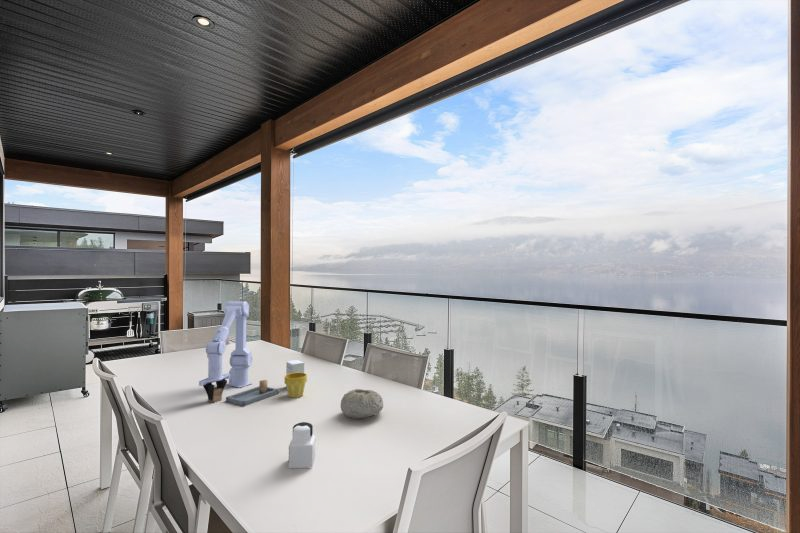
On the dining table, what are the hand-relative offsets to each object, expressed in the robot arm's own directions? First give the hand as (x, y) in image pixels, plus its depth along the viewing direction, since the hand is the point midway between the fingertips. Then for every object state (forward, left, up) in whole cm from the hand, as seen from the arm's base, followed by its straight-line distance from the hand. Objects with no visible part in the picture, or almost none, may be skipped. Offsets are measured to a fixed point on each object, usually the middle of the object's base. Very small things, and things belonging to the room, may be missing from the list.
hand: (214, 397), depth 175 cm
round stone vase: (+67, +20, -2) cm, 70 cm away
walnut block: (0, 0, -1) cm, 1 cm away
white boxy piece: (+73, -22, -2) cm, 76 cm away
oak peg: (+11, +18, -1) cm, 21 cm away
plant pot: (+26, +24, -2) cm, 35 cm away
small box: (+17, +33, -2) cm, 37 cm away
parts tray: (+11, +12, -1) cm, 16 cm away
